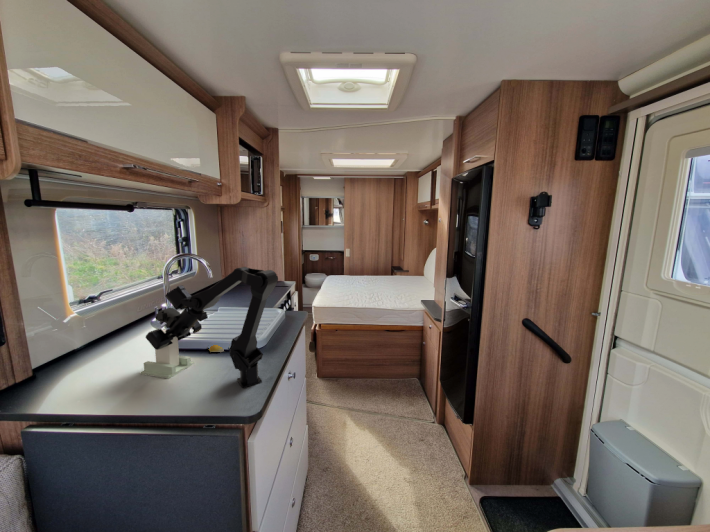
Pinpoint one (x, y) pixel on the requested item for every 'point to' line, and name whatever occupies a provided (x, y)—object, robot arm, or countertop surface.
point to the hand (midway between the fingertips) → (163, 345)
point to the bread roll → (216, 348)
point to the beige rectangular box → (168, 353)
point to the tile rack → (166, 368)
